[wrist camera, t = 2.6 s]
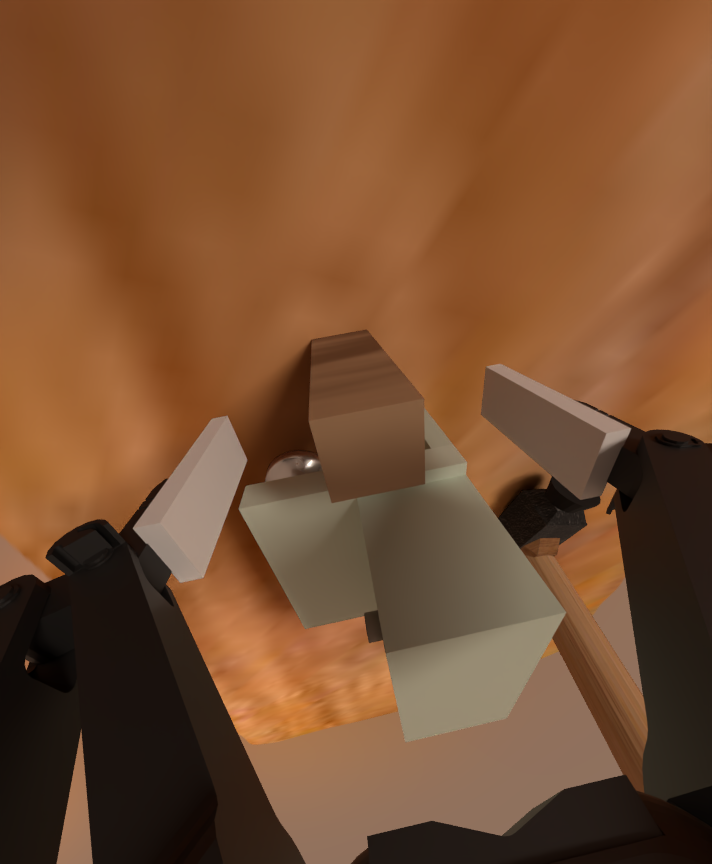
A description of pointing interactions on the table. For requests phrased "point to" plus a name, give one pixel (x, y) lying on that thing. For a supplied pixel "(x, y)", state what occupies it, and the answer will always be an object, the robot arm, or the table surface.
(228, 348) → the table surface
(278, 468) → the chrome dome knob
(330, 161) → the table surface
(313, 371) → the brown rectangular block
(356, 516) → the plinth shelf
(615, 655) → the hammer
